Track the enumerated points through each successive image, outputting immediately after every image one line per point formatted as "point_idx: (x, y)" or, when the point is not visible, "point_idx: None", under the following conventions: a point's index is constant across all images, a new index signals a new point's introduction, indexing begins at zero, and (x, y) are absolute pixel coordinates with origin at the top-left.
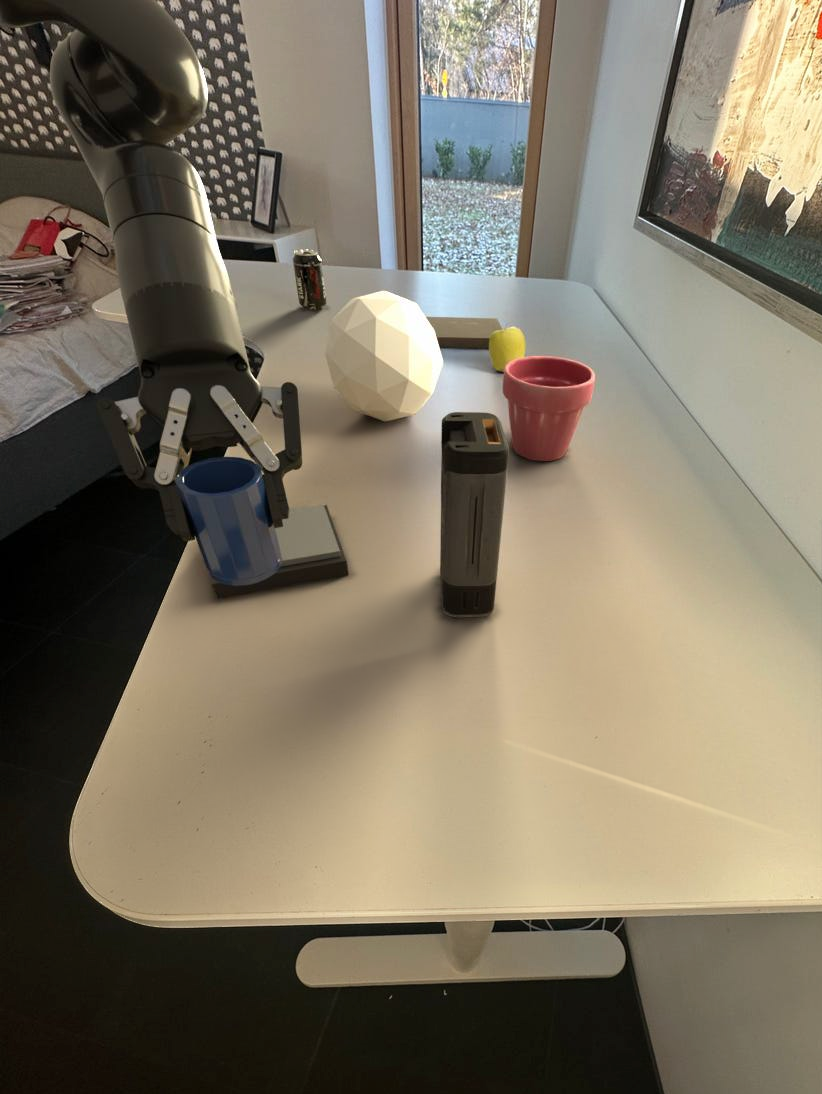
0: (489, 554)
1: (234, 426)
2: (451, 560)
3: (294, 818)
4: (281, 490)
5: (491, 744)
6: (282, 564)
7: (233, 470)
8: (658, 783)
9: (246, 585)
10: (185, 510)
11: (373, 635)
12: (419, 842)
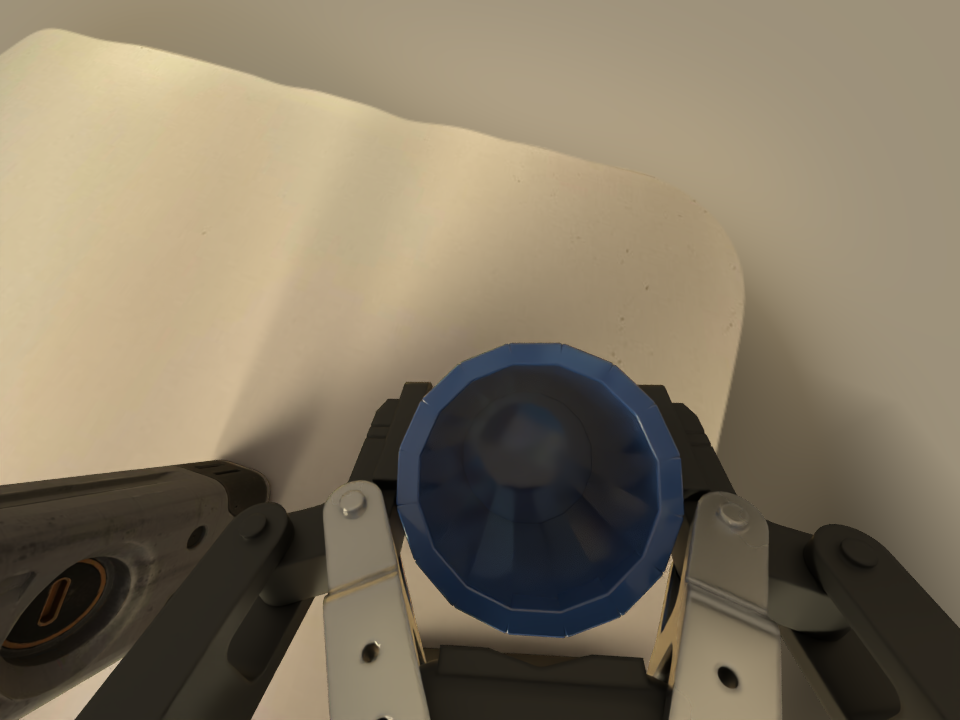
0: (113, 472)
1: (415, 665)
2: (183, 494)
3: (531, 234)
4: (371, 446)
5: (311, 258)
6: None
7: (492, 578)
8: (181, 167)
9: (548, 664)
10: None
11: None
12: (421, 176)
